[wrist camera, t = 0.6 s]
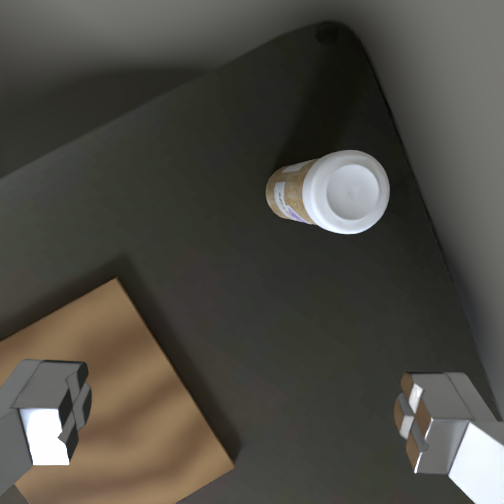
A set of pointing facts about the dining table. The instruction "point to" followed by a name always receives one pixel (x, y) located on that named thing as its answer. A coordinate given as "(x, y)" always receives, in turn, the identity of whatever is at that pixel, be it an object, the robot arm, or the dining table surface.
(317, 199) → the sprinkles bottle
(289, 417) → the dining table surface
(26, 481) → the wooden board
